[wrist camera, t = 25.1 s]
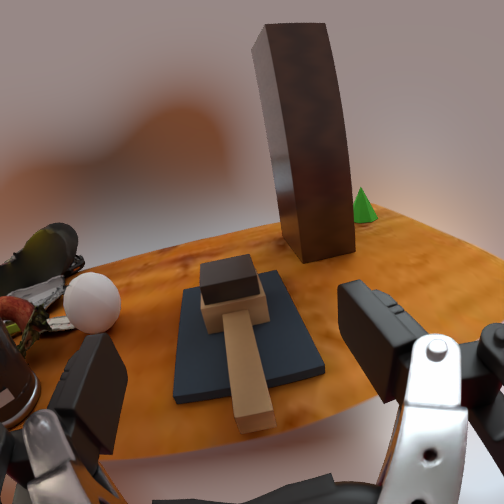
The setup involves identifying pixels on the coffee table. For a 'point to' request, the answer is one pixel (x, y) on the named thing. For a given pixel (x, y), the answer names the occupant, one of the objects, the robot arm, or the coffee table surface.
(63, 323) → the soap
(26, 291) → the stone
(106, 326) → the white egg
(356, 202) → the gemstone
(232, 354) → the brush
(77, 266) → the toy car
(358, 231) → the coffee table surface
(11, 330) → the kitchen knife
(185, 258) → the coffee table surface
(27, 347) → the mushroom
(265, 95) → the tall dark wooden block
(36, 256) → the athletic shoe
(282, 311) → the mat
